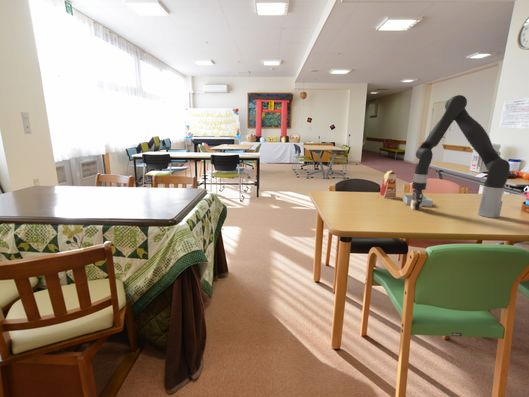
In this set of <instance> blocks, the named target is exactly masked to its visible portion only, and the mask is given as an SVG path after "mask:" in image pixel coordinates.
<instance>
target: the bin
mask: <svg viewBox="0 0 529 397" xmlns="http://www.w3.org/2000/svg"><path fill="white" fill-rule="evenodd" d="M424 196H425V195H424ZM425 197H426V200H422V207H428V208H429V207H431V208H433V203H434V200H433V199H431V198H429V197H428V196H427V195H426V196H425ZM412 198H413V194H402V200H401V201H402V202H403V203H404V204H405V205H406V206H411V200H413V199H412Z"/></svg>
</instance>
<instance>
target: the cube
mask: <svg viewBox="0 0 529 397" xmlns="http://www.w3.org/2000/svg"><path fill="white" fill-rule="evenodd" d="M418 201H419V200H418ZM415 205H416V200H411V205H409V206H410V209H411V210H413V211H414V210H416V211H422V207H423V206H422V203H420V206H419V210H417V209H415Z"/></svg>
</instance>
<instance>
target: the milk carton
mask: <svg viewBox="0 0 529 397" xmlns="http://www.w3.org/2000/svg"><path fill="white" fill-rule="evenodd" d="M393 171H394V170H387V172H385V173H384V176H383V179H382V182H381V186H380V192H379V196H380V197H381V196H382V199H393V198H396V200H397V174H396V173H395V172H393Z"/></svg>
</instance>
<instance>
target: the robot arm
mask: <svg viewBox="0 0 529 397" xmlns="http://www.w3.org/2000/svg"><path fill="white" fill-rule="evenodd" d="M467 104H468V100H467V98H466V96H464V95H461V94H457V95H454V96H452V97H451V98H449V99H447V100H446V102H445V106H444V109H445V111H444V113H443V115H442V117H441V118H440V119H439V121H438V122H436V125H435V126H434V127H433V128H432V129H431V131H430V132H429V134H428V136H427V138H425V140H424V141H423V142H422V143H421V144H420V145H419V146H418V148H417V150H416V152H415V157H416V158H417V159H418V163H417V164H416V165H415V168H414V175H413V178H412V186H411V189H413V191H412V195H413V198H412V199H413V200H416V205H415V209H417V210H416V211H420V210H419V206H420V203H422V199H423V196H424V194H423V191H424V190H426V189H427V181H428V173H429V167H430V165H431V163H432V160H433V155H434V154H433V151H432V149H434V148H436V147H437V146H439V143H440V142H441V140H442V139H443V137H444V136H445V134H446V133H447V131H448V129H449V128H450V127H451V125H452V123H453V122H456V124H457V126H458V127H459V129H460V131H461V133H462V134H463V135H464V137H465V138H466V141H467V142H468V143H469V145H470V146H471V148H473V149H474V151H475V152H476V153H477V155H478V156H479V157H480V159H481V161H482V162H483V164H484V165H485V168H486V170H487V177H486V179H485V181H483V182H484V183H483V188H482V193H481V196H480V197H481V198H480V203H479V206H478V210H477V211H478V212H477V214H478V215H479V216H481V217H485V218H493V219H495V218H496V219H497V218H500V216H501V212H502V211H501V210H502V206H503V200H502V199H503V194H504V188H505V185H506V183H507V182H508V178H509V175H510V169H511V165H510V162H509V161H508V160H506V159H504V158H502V157H501V156H500V155H499V153H498V152H497V151H496V150H495V148H494V146H493V144H492V141H491V138H490V136H489V134H488V132H487V130H485V128H484V127H483V126H482V125H481V124H480V123H479V122H478V121H477V120H475V119H474V118H473V117H472V116H470V114H469V112H468V111H467V109H466V107H467ZM418 200H419V201H418Z"/></svg>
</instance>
